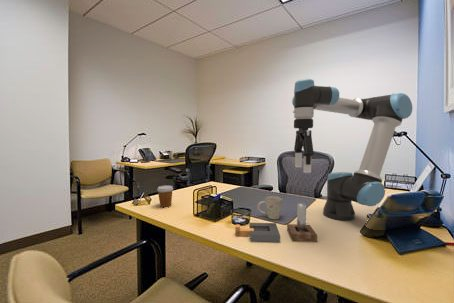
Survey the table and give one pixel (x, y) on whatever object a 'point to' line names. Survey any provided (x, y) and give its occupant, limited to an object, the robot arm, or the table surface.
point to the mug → (272, 207)
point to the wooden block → (242, 231)
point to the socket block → (264, 232)
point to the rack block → (301, 234)
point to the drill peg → (301, 217)
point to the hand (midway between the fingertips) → (302, 169)
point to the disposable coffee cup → (165, 195)
